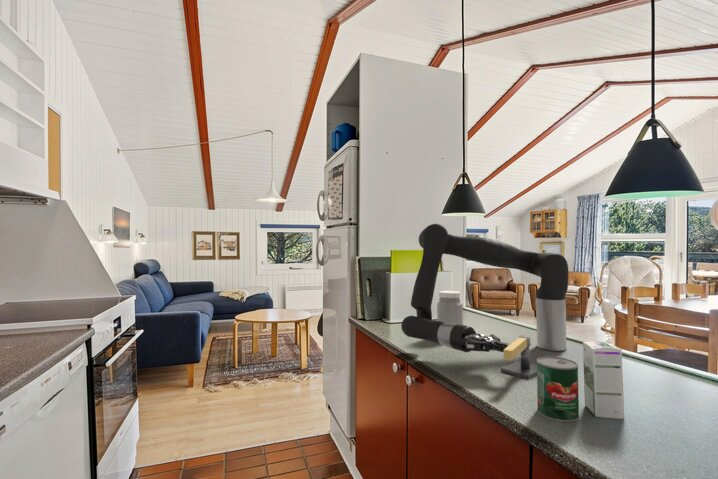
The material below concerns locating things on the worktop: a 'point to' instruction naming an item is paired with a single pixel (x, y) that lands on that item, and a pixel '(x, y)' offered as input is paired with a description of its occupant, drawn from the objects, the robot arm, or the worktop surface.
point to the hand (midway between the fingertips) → (509, 348)
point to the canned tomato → (557, 389)
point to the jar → (450, 307)
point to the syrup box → (603, 379)
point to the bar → (516, 347)
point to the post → (522, 366)
